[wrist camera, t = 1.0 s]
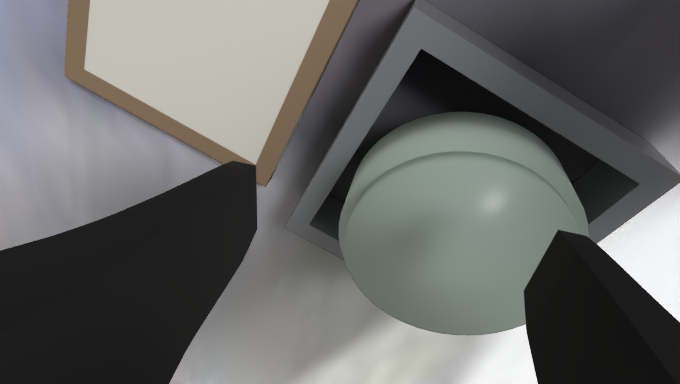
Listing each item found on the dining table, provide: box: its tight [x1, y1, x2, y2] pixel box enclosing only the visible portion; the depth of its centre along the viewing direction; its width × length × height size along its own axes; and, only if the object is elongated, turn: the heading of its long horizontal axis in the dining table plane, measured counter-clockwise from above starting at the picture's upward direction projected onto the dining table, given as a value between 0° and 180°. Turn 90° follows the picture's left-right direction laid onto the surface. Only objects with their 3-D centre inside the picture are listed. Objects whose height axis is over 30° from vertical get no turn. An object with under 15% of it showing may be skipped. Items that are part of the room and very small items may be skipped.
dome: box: [339, 112, 589, 335], centre depth 16 cm, size 9×9×3 cm
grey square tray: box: [284, 0, 680, 260], centre depth 19 cm, size 12×12×3 cm
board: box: [65, 0, 360, 187], centre depth 18 cm, size 12×12×1 cm
